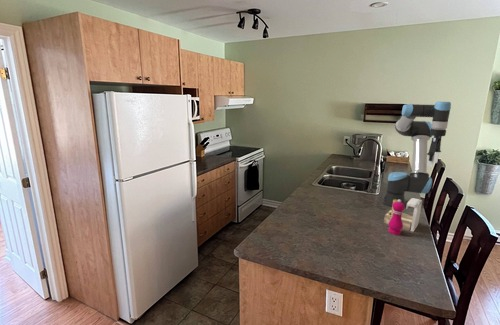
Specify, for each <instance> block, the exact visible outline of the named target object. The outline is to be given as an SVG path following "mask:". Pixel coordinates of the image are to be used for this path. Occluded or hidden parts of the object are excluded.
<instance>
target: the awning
mask: <svg viewBox="0 0 500 325" xmlns="http://www.w3.org/2000/svg"><path fill="white" fill-rule="evenodd" d="M422 206H423V199H419V198H414V197H412V198H410V199H409V200H408V201H407V202H406V205H405V210H407V209H409V208H410V207H411V208H414V209H413V212H412V216H413V219H412V224H411V229H410V230H409V231H410V232H413V233H414V232H415V230H416V228H417V227H418V226H419V222H420V216H421V209H422Z"/></svg>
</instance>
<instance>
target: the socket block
mask: <svg viewBox="0 0 500 325" xmlns="http://www.w3.org/2000/svg"><path fill="white" fill-rule="evenodd" d="M391 212H392V209H390V210H389V211H388V212H386V214H384V218H383V224H386V225H388V224H389V221H390V220H391V218H392V216H393V215H391ZM412 219H413V214H408V213H404V212H403V214H402V215H401V220H402V223H403V228H402V229H401V230H407V231H410V230H411V224H412Z"/></svg>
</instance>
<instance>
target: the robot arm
mask: <svg viewBox="0 0 500 325" xmlns="http://www.w3.org/2000/svg"><path fill="white" fill-rule="evenodd" d="M451 109H452V103H451V101H436V102H435V103H434V104H415V103H413V104H412V103H409V104H404V105H403V106H402V110H401V117H400V118H399V119H398V120H397V121H396V122H395V124H394V129H395V131H396V132H397V133H398V134H399V135H401V136H404V137H411V139H410V140H411V141H412V142H413V145H412V146H413V149H412V167H411V168H412V169H411V170H412V171H411V172H410V173H409V174H408V173H407V172H404V171H403V172H402V171H394V172H390V173H388V177H387V184H386V191H385V193H384V195H383V197H382V201H381V202H382V203H383V205H386V206H389V207H392V205H393V200H399V199H400V200H401V202H402V203H403V204H404V206H405V207H406V205H407V202H406V198H405V193H406V192H407V193H416V194H424V195H425V194H428V193H429V192H430V190H431V188H432V185H433V178H432V177H430V174H429V173H428V172H427V169H428V168H427V167H432V168H433V166H434V164H438V160H439V155H440V153H441V152H442V150H441V145H442V138H443V137H445V136H446V133H447V129H448V125H449V118H450V111H451ZM416 118H432V120H431V121H426V120H422V121H421V120H416ZM430 140H431V142H430V146H429V149H428V141H430Z"/></svg>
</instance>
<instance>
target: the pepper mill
mask: <svg viewBox="0 0 500 325" xmlns="http://www.w3.org/2000/svg"><path fill="white" fill-rule="evenodd" d="M392 207H393V216H392V218H391V220H390V221H389V224H387V225H388V233H389V234H392V235H394V236H400V235H401V234H402V230H403V229H402V228H403V223H402V220H401V215H402V214H403V213H404V210H406V205H405V206H404V204H403V203H402V202H401V200H400V199H399V200H398V202H394V203H393V206H391V208H392Z"/></svg>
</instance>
